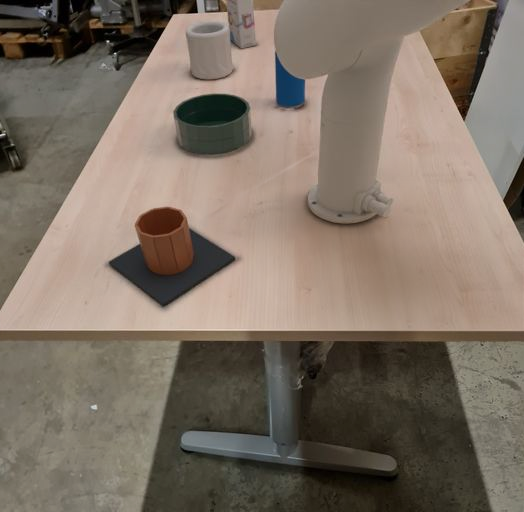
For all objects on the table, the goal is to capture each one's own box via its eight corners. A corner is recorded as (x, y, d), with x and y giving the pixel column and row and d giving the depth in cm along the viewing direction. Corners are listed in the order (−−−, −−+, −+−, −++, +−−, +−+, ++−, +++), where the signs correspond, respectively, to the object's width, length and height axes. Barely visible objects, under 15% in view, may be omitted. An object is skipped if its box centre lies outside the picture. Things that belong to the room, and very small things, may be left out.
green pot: (266, 136, 100) (265, 106, 95) (211, 165, 93) (207, 135, 88) (218, 115, 107) (214, 87, 102) (164, 141, 100) (158, 112, 96)
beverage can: (302, 111, 106) (303, 50, 97) (273, 109, 107) (272, 49, 98) (306, 98, 110) (307, 39, 101) (279, 97, 112) (277, 38, 102)
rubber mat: (235, 259, 74) (235, 256, 74) (163, 307, 68) (162, 304, 68) (179, 224, 81) (178, 221, 81) (109, 264, 75) (108, 261, 75)
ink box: (228, 40, 138) (224, -10, 129) (244, 36, 139) (241, -13, 130) (240, 49, 133) (236, -3, 124) (256, 45, 134) (254, -6, 125)
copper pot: (203, 258, 74) (196, 219, 69) (165, 282, 71) (154, 243, 65) (174, 239, 77) (166, 200, 72) (136, 261, 74) (124, 223, 69)
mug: (239, 75, 121) (235, 29, 114) (198, 83, 119) (192, 37, 111) (222, 57, 130) (217, 14, 122) (183, 65, 127) (176, 21, 120)
